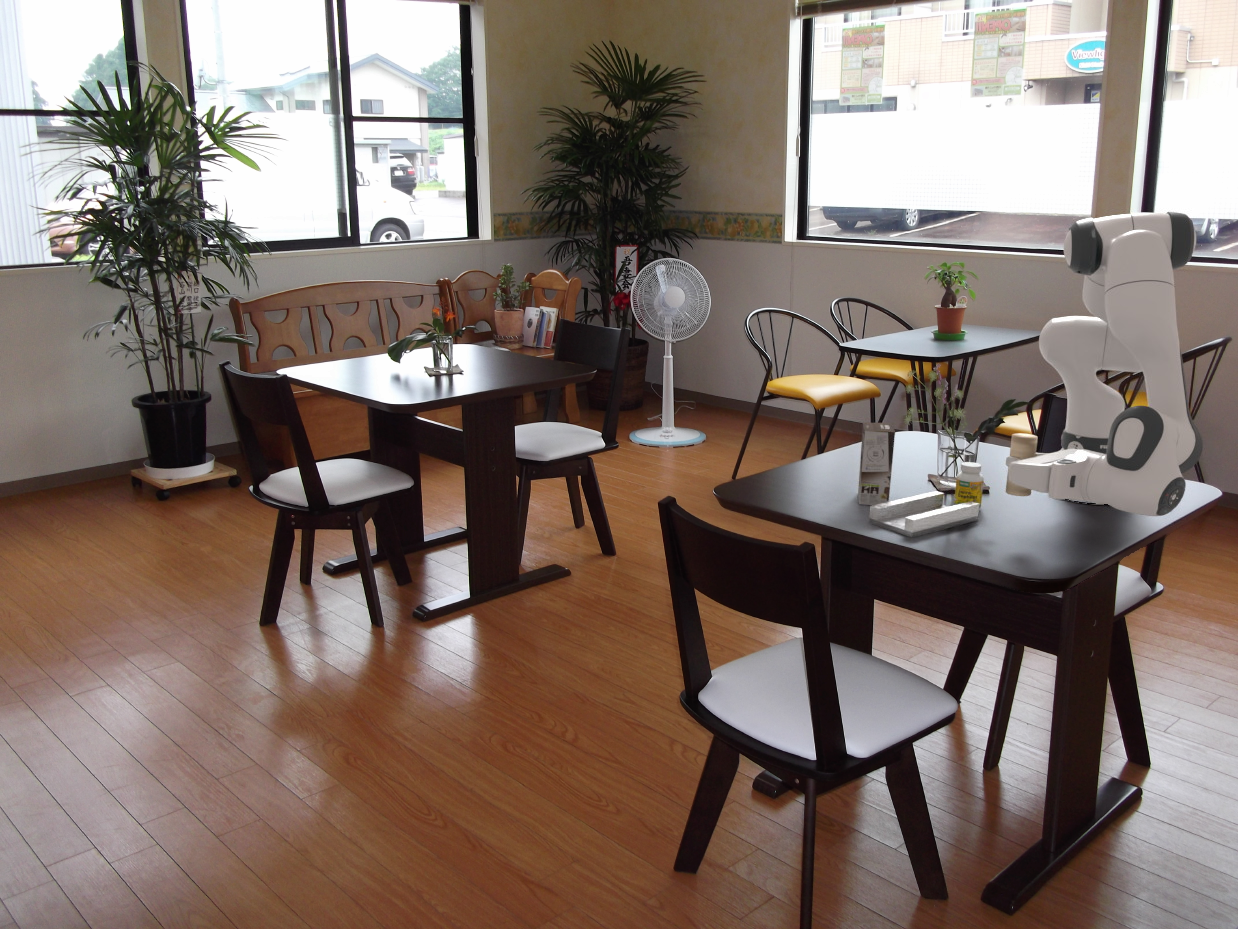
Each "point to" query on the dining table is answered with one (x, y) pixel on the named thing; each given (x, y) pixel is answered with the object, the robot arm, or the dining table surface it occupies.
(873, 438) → the coffee box
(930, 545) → the dining table surface
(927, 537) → the dining table surface
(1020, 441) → the birch post
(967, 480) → the supplement bottle
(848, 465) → the dining table surface
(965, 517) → the aluminium track
